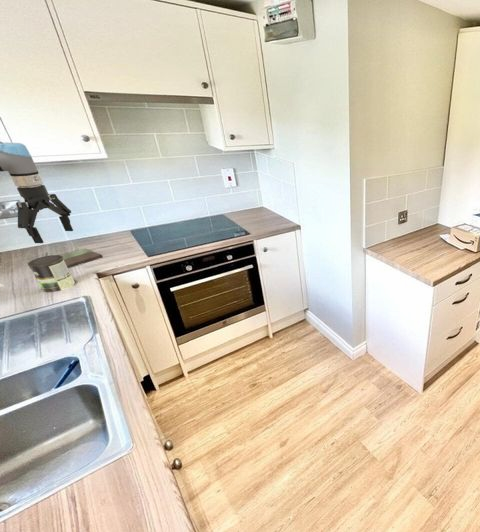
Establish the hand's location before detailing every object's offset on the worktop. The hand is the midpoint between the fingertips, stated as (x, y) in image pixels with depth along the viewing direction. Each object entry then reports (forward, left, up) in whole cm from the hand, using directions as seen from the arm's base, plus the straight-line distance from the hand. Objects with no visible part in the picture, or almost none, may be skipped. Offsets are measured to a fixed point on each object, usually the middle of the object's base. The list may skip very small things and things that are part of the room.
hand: (55, 236), depth 134 cm
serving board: (+9, +29, -23) cm, 38 cm away
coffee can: (-6, 0, -23) cm, 24 cm away
